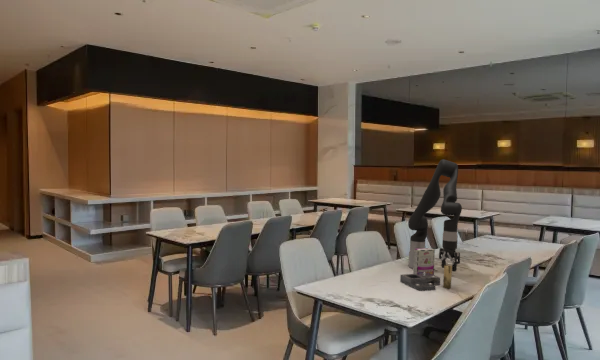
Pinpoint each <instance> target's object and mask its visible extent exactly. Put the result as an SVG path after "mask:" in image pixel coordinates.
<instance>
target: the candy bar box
mask: <svg viewBox="0 0 600 360" xmlns="http://www.w3.org/2000/svg"><path fill="white" fill-rule="evenodd" d="M435 251H436V250H435V249H433V248H432V247H429V248H427V247H425V248H424V249H414V269H413V273H412V274H420V273H423V272H426V273H431V274H433V275H435Z"/></svg>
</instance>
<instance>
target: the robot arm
mask: <svg viewBox="0 0 600 360" xmlns="http://www.w3.org/2000/svg"><path fill="white" fill-rule="evenodd" d="M458 175H459V165H458V163H456V162H453V161H450V160H447V159H444V158H443V159H440V160H439V162H438V163H437V165H436V168H435V170H434V173H433V175H432V177H431V180H430V182H429V184H428V185H427V187H426V189H425V191H424V192H423V195H422V197H421V199H420V201H419V203H418V204H417V206H416V208H415V210H414V211H413V213H412V214H411V215H410V217H409V218H408V222H407V226H408V229H410V230H412V231H415V233H414V234H412V235H410V238H409V239H410V241H409V243H410V244H409V252H408V268H410V269H413V270H414V249H424V248H426V239H427V235H428V230H429V229H428V228H429V227H428V225H429V223H428V218H427V216H425V215H426V214H427V213H428V212H430V210H432V209H433V208H434V207H435V206H436V205H437V203H438V201H439V200H440V198H441V188H440V178H441V176H443V177H447V178H449V181H448V182H447V183H446V184H445V185H444V187H443V191H442V192H443V200H442V203H441V207H440V212H441V214H442V215H443V216H453V217H452V218H450V219H445V220H444V221H443V232H442V245H441V247H440V248H439V251H438V259H439V260H440V261H441V263H440V264H441V268H442V269H444V265H447V261H446V260H447V259H448V260H450V261H451V266H452V272H457V270H458V269H457V267H458V265H460V264H461V253H460V252H458V251H457V252H456V250H457V249H458V225H459V219H460V217H461V214H462V212H463V211H462V210H463V207H462V205H461V203H459V202H457V200H458V193H457V185H458Z"/></svg>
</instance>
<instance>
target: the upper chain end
mask: <svg viewBox="0 0 600 360" xmlns="http://www.w3.org/2000/svg"><path fill="white" fill-rule="evenodd" d="M400 278H401V279H403V280H405V281H407V282H409V283H419V282H427V283H432V285H434V286H440V285H441V277H440V276H438V275H436V274H434V275H433V274H431V273H426V272H423V273H420V274H413V273H406V274H400V276H399V279H400Z"/></svg>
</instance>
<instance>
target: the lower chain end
mask: <svg viewBox="0 0 600 360" xmlns="http://www.w3.org/2000/svg"><path fill="white" fill-rule="evenodd" d="M399 279H400V280H399V281H400V283H402V284H404V285H406V286H408V287H410V288H412V289H414V290H416V291H417V292H424V291H435V290H436V285H433V284H432V283H428V282H419V283H409V282H407V281H405V280H403V279H401V278H400V277H399Z"/></svg>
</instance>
